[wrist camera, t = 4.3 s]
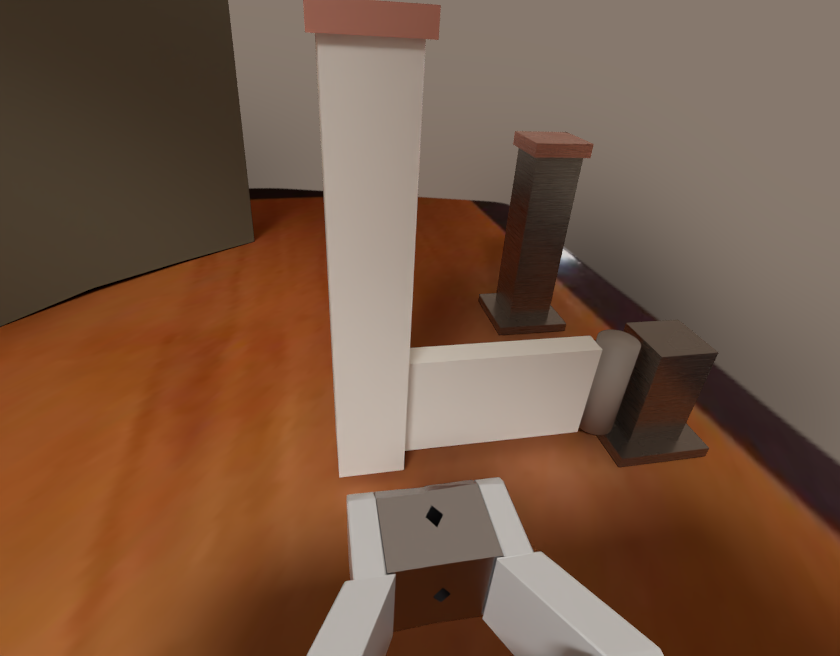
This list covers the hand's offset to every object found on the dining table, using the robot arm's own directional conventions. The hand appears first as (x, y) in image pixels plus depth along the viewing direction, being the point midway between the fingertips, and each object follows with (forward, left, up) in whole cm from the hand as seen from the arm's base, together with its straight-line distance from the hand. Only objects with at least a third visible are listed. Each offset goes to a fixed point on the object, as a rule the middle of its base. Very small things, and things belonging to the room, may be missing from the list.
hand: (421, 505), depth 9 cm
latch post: (+13, +24, -10) cm, 29 cm away
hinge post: (+15, +11, -10) cm, 21 cm away
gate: (+6, +11, -10) cm, 16 cm away
